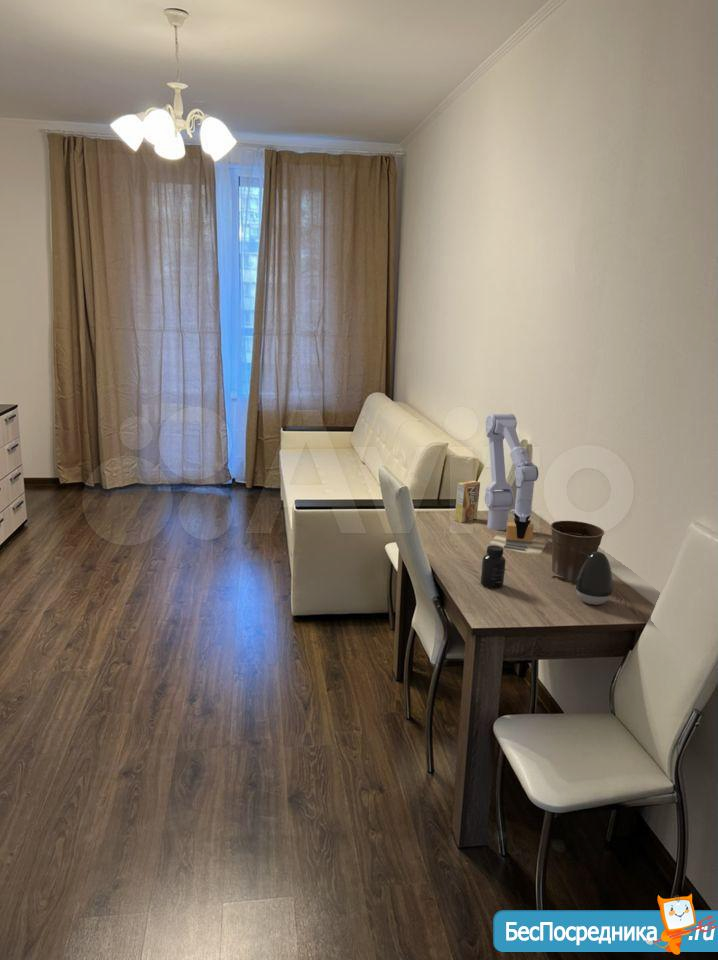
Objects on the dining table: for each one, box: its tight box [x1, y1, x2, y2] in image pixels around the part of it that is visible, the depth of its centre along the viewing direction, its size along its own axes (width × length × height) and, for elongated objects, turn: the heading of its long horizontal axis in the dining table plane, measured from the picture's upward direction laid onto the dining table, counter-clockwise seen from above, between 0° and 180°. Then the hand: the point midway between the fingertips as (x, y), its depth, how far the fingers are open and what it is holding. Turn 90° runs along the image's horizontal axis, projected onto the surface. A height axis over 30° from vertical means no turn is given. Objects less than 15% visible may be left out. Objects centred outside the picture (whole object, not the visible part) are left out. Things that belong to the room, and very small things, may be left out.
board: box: [486, 534, 548, 557], centre depth 258 cm, size 16×18×2 cm
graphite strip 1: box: [506, 542, 527, 548], centre depth 256 cm, size 2×7×1 cm, turn 67°
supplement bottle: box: [480, 545, 506, 589], centre depth 221 cm, size 7×7×12 cm
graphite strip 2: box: [504, 545, 525, 551], centre depth 253 cm, size 2×7×1 cm, turn 67°
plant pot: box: [550, 520, 605, 584], centre depth 231 cm, size 16×16×16 cm
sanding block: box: [505, 521, 534, 544], centre depth 261 cm, size 5×9×6 cm, turn 79°
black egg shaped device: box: [575, 551, 614, 606], centre depth 212 cm, size 10×10×15 cm
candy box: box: [454, 480, 481, 523], centre depth 288 cm, size 9×4×15 cm, turn 129°
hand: (520, 535), depth 261 cm, fingers open, 5 cm apart
